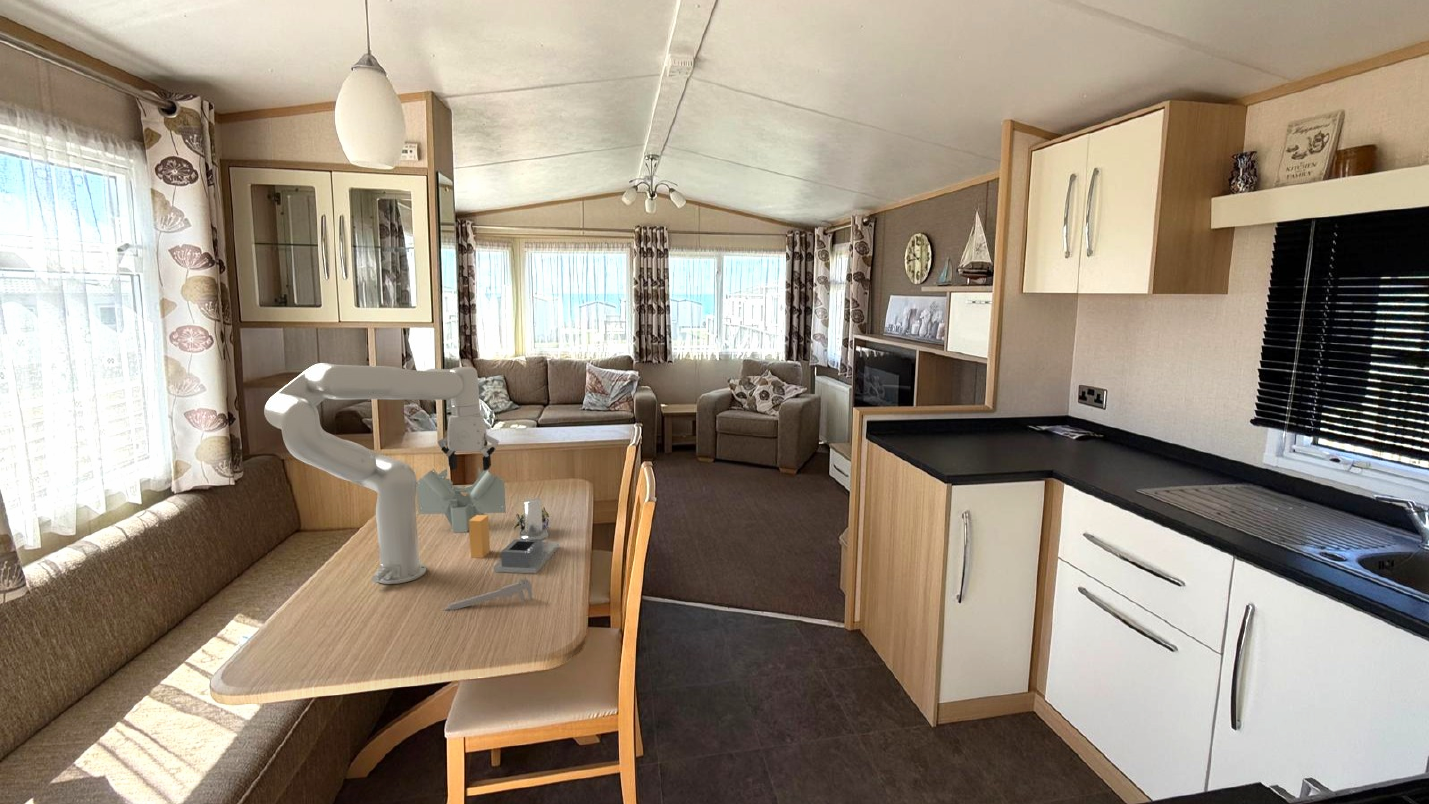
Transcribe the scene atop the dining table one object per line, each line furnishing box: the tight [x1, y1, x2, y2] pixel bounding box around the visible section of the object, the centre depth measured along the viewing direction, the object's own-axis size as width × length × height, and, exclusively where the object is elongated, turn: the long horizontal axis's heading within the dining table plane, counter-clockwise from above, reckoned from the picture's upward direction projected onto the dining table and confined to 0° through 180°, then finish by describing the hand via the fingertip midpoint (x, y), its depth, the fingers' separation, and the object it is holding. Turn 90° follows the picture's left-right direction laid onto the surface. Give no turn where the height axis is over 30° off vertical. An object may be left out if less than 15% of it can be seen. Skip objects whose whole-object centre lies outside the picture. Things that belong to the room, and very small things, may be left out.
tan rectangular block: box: [468, 514, 491, 559], centre depth 194 cm, size 5×4×11 cm
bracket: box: [416, 467, 507, 533], centre depth 214 cm, size 28×7×20 cm, turn 93°
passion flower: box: [513, 507, 550, 535], centre depth 210 cm, size 11×11×12 cm
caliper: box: [443, 576, 533, 611], centre depth 163 cm, size 20×1×6 cm, turn 106°
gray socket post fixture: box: [493, 497, 560, 575], centre depth 190 cm, size 19×12×16 cm, turn 174°
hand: (470, 469), depth 193 cm, fingers open, 9 cm apart
